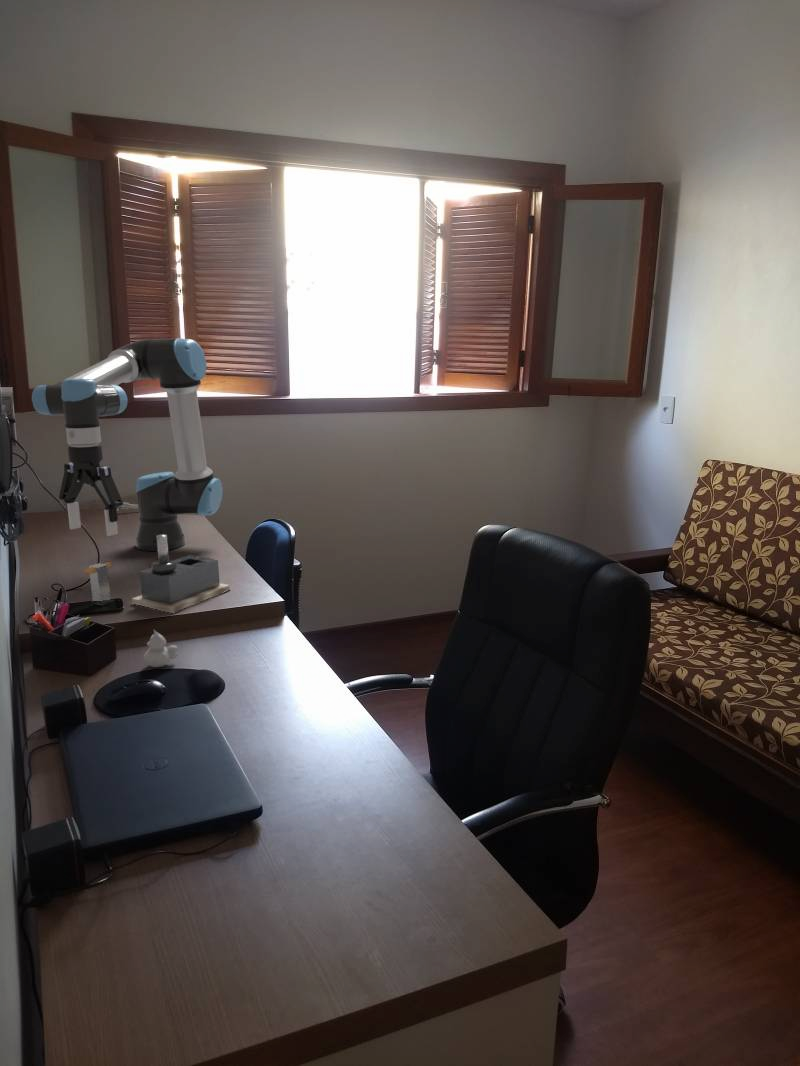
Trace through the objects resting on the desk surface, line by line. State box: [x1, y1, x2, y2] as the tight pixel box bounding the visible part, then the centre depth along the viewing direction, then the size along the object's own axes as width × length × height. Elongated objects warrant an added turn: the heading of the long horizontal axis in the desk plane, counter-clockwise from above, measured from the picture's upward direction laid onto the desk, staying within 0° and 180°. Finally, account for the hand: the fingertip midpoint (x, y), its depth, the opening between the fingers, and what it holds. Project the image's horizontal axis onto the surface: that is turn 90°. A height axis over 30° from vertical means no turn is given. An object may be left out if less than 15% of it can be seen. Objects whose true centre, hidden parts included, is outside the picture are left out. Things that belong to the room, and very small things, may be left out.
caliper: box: [117, 502, 138, 512], centre depth 292 cm, size 20×1×6 cm, turn 118°
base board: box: [131, 582, 231, 614], centre depth 196 cm, size 20×14×2 cm
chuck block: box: [139, 534, 221, 605], centre depth 194 cm, size 17×10×16 cm, turn 150°
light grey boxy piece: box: [83, 561, 112, 602], centre depth 191 cm, size 7×3×10 cm, turn 150°
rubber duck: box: [143, 629, 178, 668], centre depth 155 cm, size 5×7×8 cm
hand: (93, 531), depth 187 cm, fingers open, 13 cm apart
